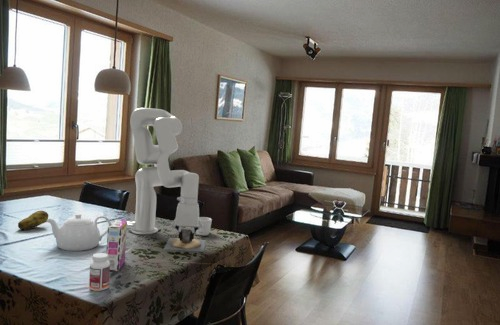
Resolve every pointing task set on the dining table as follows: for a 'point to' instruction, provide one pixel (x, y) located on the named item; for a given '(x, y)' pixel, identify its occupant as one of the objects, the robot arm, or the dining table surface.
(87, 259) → the dining table surface
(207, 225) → the cup
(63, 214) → the dining table surface
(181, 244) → the lid
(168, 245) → the mat
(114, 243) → the candy bar box
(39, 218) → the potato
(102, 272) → the pill bottle
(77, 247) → the teapot
